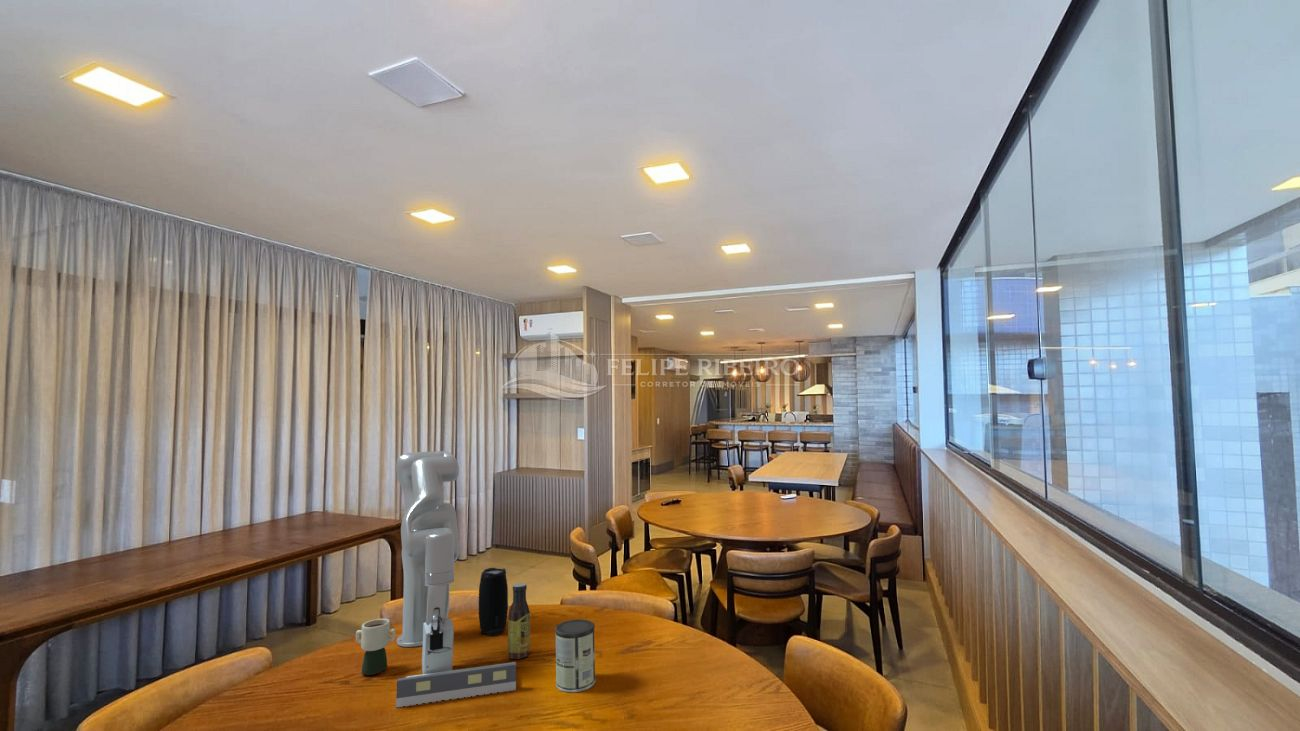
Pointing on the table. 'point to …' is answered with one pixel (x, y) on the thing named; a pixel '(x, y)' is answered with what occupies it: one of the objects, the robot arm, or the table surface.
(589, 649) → the coffee can
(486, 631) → the portable speaker
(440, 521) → the robot arm
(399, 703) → the shelf board
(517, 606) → the sauce bottle
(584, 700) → the table surface
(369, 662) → the character mug
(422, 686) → the rail
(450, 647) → the supplement box
